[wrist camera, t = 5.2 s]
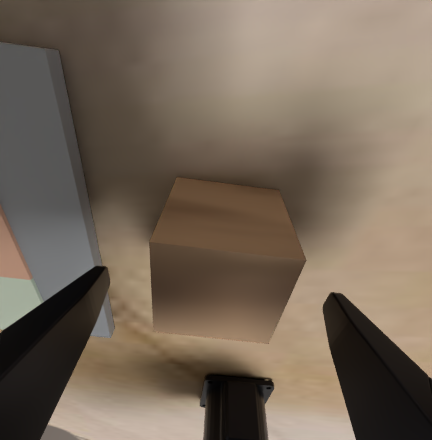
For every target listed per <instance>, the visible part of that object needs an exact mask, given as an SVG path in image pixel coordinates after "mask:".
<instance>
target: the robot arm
mask: <svg viewBox="0 0 432 440" xmlns="http://www.w3.org/2000/svg"><path fill="white" fill-rule="evenodd" d="M109 285H110V278H109V272H108V268H107V267H106V266H94V267H93V268H92V269H90V270H89V271H87V272H86V273H84V274H83V275H81V276H80V277H79V278H77V279H76V280H74V281H73V282H71V283H70V284H69V285H67V286H66V287H64V288H63V289H61V290H60V291H59V292H57V293H56V294H54V295H53V296H51V297H50V298H49V299H47V300H46V301H44V302H43V303H41V304H40V305H38V306H37V307H36V308H34V309H33V310H31V311H30V312H28V313H27V314H26V315H24V316H23V317H21V318H20V319H18V320H17V321H16V322H14V323H13V324H11V325H10V326H8V327H7V328H5V329H4V330H3V331H2V332H1V333H0V440H40V439H41V437H42V435H43V433H44V431H45V429H46V426H47V424H48V422H49V420H50V418H51V416H52V414H53V412H54V410H55V408H56V406H57V404H58V402H59V399H60V397H61V395H62V393H63V391H64V389H65V387H66V385H67V383H68V381H69V379H70V377H71V375H72V372H73V370H74V368H75V366H76V364H77V362H78V360H79V358H80V356H81V354H82V352H83V350H84V348H85V345H86V343H87V341H88V339H89V337H90V335H91V333H92V331H93V329H94V327H95V324H96V322H97V319H98V317H99V314H100V311H101V308H102V306H103V303H104V300H105V297H106V294H107V291H108V289H109ZM323 314H324V320H325V326H326V331H327V337H328V342H329V347H330V351H331V355H332V358H333V362H334V365H335V368H336V372H337V375H338V379H339V382H340V386H341V389H342V393H343V396H344V400H345V403H346V407H347V410H348V414H349V417H350V420H351V424H352V427H353V431H354V434H355V438H356V440H432V379H431V378H430V377H428V375H427V374H426V373H425V372H424V371H423V370H422V369H421V368H420V367H419V366H418V365H417V364H416V363H415V362H413V361H412V360H411V359H410V358H409V357H408V356H407V355H406V354H405V353H404V352H403V351H402V350H401V349H400V348H399V347H398V346H397V345H396V344H395V343H393V342H392V341H391V340H390V339H389V338H388V337H387V336H386V335H385V334H384V333H383V332H382V331H381V330H380V329H379V328H378V327H377V326H376V325H375V324H373V323H372V322H371V321H370V320H369V319H368V318H367V317H366V316H365V315H364V314H363V313H362V312H361V311H360V310H359V309H358V308H357V307H356V306H355V305H353V304H352V303H351V302H350V301H349V300H348V299H347V298H346V297H345V296H344V295H343V294H341V293H334V292H332V293H330V294H329V296H328V297H327V299H326V301H325V303H324V304H323ZM273 390H274V383H273V382H272V381H265V380H255V379H245V378H235V377H225V376H215V375H207V376H205V380H204V385H203V390H202V395H201V399H200V406H201V407H204V408H205V421H204V437H203V440H268V431H267V422H266V413H265V403H266V402H267V400H268V398H269V397H270V395H271V393H272V391H273Z"/></svg>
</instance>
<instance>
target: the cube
mask: <svg viewBox="0 0 432 440" xmlns="http://www.w3.org/2000/svg"><path fill="white" fill-rule="evenodd" d="M149 246H150V267H151V288H152V309H153V330H154V332H160V333H169V334H179V335H189V336H198V337H208V338H217V339H227V340H236V341H246V342H256V343H265V344H269V342H270V340H271V337H272V335H273V333H274V331H275V329H276V326H277V324H278V322H279V320H280V317H281V315H282V313H283V311H284V309H285V306H286V304H287V302H288V300H289V298H290V295H291V293H292V291H293V289H294V286H295V284H296V282H297V280H298V278H299V275H300V273H301V271H302V269H303V267H304V264H305V262H306V258H305V256H304V253H303V250H302V248H301V245H300V243H299V240H298V238H297V235H296V233H295V230H294V227H293V225H292V222H291V220H290V217H289V215H288V212H287V209H286V207H285V204H284V202H283V199H282V197H281V194H280V191H279V190H275V189H267V188H259V187H251V186H243V185H235V184H227V183H220V182H212V181H204V180H196V179H188V178H180V177H177V178H176V180H175V183H174V185H173V187H172V190H171V192H170V194H169V197H168V199H167V201H166V204H165V206H164V209H163V211H162V213H161V216H160V218H159V220H158V223H157V225H156V227H155V230H154V232H153V234H152V237H151V239H150V241H149Z"/></svg>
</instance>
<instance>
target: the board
mask: <svg viewBox="0 0 432 440" xmlns="http://www.w3.org/2000/svg"><path fill="white" fill-rule="evenodd" d="M94 266H102V262H101V257H100V252H99V247H98V242H97V237H96V233H95V228H94V223H93V218H92V213H91V208H90V203H89V198H88V193H87V188H86V183H85V178H84V173H83V168H82V163H81V158H80V153H79V149H78V144H77V139H76V134H75V129H74V124H73V119H72V114H71V109H70V104H69V99H68V94H67V89H66V84H65V79H64V74H63V69H62V65H61V60H60V55H59V50H56V49H49V48H42V47H35V46H28V45H20V44H13V43H6V42H0V329H3V330H4V329H5V328H7V327H8V326H10V325H11V324H13V323H14V322H16V321H17V320H18V319H20V318H21V317H23V316H24V315H26V314H27V313H28V312H30V311H31V310H33V309H34V308H36V307H37V306H38V305H40V304H41V303H43V302H44V301H46V300H47V299H49V298H50V297H51V296H53V295H54V294H56V293H57V292H59V291H60V290H61V289H63V288H64V287H66V286H67V285H69V284H70V283H71V282H73V281H74V280H76V279H77V278H79V277H80V276H81V275H83V274H84V273H86V272H87V271H89V270H90V269H92V268H93V267H94ZM114 329H115V326H114V321H113V317H112V312H111V307H110V302H109V297H108V292H107V294H106V297H105V300H104V303H103V306H102V308H101V311H100V314H99V317H98V319H97V322H96V324H95V327H94V329H93V331H92V333H91V335H90V336H97V337H107V338H111V336H112V334H113V331H114Z"/></svg>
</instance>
